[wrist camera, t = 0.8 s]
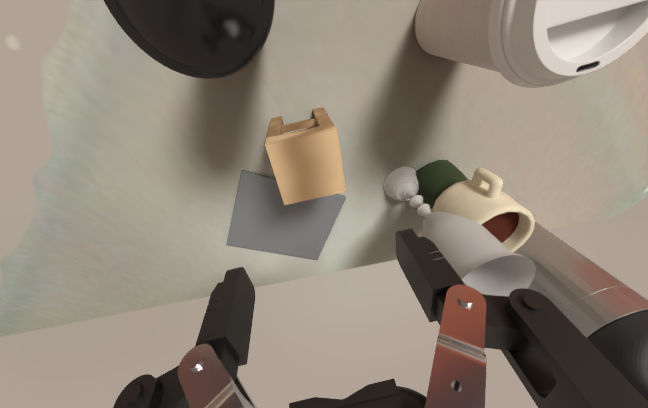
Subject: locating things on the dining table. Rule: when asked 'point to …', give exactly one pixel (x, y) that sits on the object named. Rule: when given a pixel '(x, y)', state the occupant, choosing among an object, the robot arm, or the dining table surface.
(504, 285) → the chalice
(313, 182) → the light wood stool
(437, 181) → the character mug
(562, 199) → the dining table surface
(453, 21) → the coffee cup
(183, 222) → the dining table surface
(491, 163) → the dining table surface
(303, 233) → the mat
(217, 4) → the drinking cup
